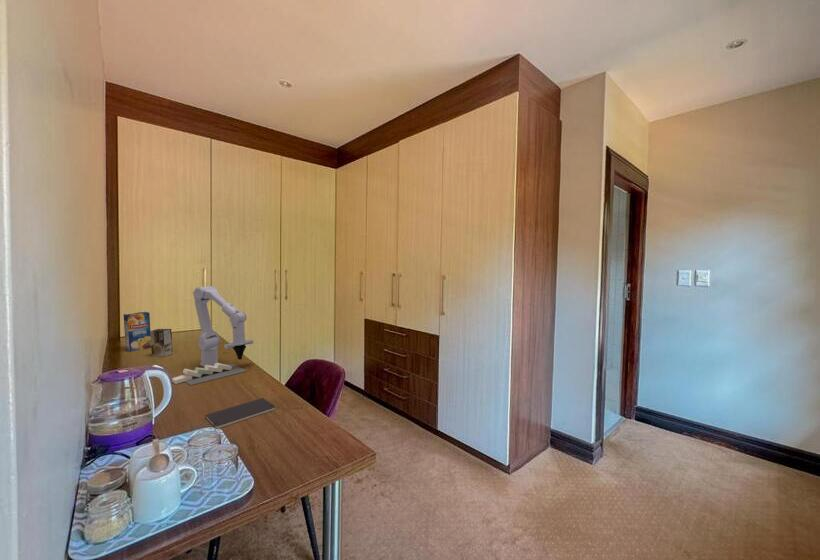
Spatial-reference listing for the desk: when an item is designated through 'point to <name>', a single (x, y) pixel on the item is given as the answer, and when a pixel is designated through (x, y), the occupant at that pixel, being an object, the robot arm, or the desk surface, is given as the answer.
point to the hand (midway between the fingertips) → (239, 359)
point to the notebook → (239, 412)
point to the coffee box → (161, 342)
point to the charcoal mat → (215, 375)
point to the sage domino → (203, 371)
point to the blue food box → (137, 331)
